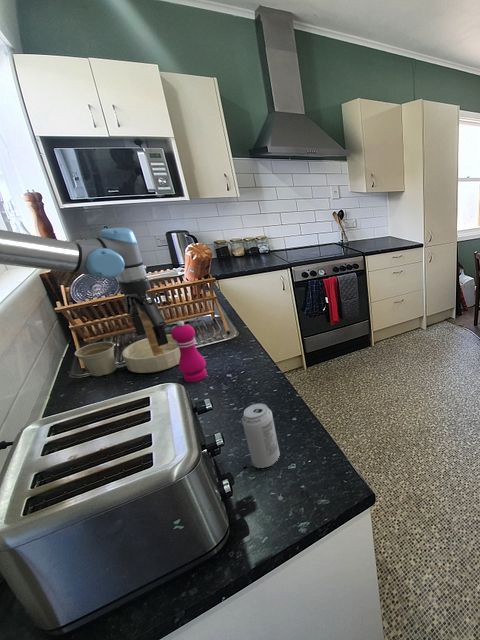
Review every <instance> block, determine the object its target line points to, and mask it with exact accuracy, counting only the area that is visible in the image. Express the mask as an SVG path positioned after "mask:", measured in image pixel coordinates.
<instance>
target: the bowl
mask: <svg viewBox="0 0 480 640" xmlns="http://www.w3.org/2000/svg"><path fill="white" fill-rule="evenodd" d="M166 336H167V340H168V343H167V344H165V345H162V346H161V347H162V350H163V353H164V354H161V355H158V356H153V353H152V350H151V347H150V344H149V341H148V338H147V337H146V338H143V339H140V340H136V341H135V342H133V343H130V344H129V345H127V346H126V347H125V348H124V349H123V351H122V352H121V353H122V358H123V360H124V363H125V366H126V368H127V370H128V371H130V372H131V373H138V374H150V373H156V372H161V371H165V370H168V369H171V368H173V367H176V366H177V365H179V360H180V349H179V347H177V344H176V341H175V340H174V339H173V338H172V336H171V333H170V334H166Z"/></svg>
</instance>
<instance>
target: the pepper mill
mask: <svg viewBox="0 0 480 640" xmlns="http://www.w3.org/2000/svg"><path fill="white" fill-rule="evenodd" d="M170 334H171V336H172V338H173V339H174V340H175V341H176V344H177V347H179V349H180V360H179V364H178V369H179V371H180V372H181V373H182V374H183V379H184V381H185V382H188V383H195V382H199V381H202V380H203V379H205V378H206V377H207V376H208V372H207V369H206V366H207V362H206V359H205V357H204V356H203V355H202V354H201V353H200V352H199V351H198V349H197V346H196V343H197V341H196V338H195V336H196V330H195V328H194V327H193V326H191V325H189V324H185V322H184V321H183V320H178V321H177V322H176V326H175V327H173V328H172V329H171V333H170Z"/></svg>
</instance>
